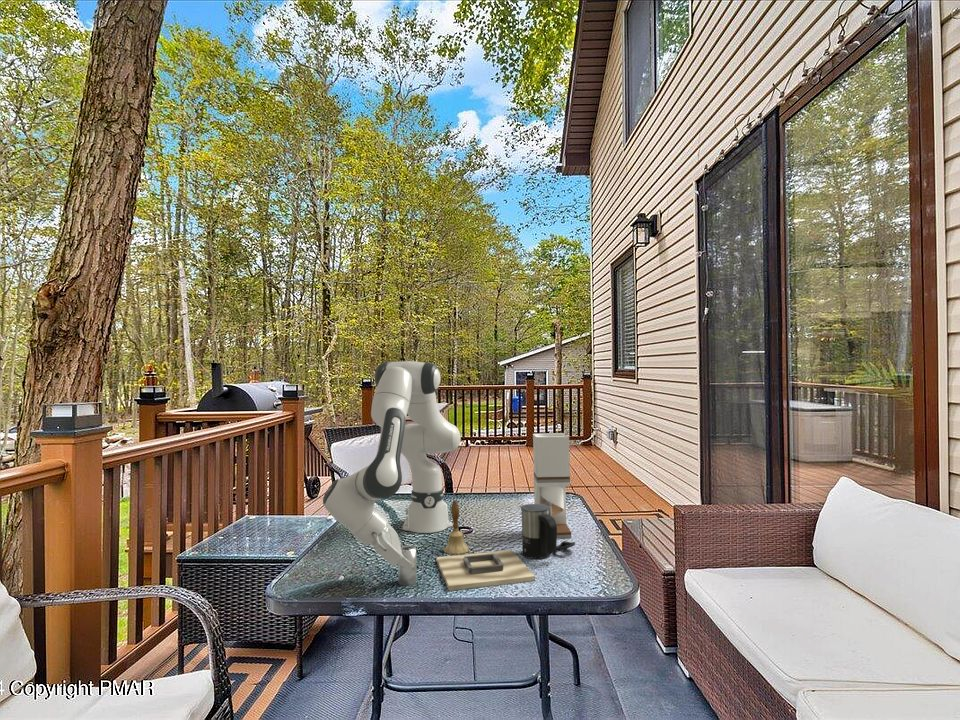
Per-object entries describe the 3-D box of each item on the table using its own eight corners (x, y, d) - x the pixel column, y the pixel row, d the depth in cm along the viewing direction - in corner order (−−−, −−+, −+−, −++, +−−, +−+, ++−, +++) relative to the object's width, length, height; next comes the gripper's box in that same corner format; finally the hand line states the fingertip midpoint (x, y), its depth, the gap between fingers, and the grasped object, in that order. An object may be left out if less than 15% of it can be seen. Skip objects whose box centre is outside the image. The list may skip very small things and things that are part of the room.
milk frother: (515, 555, 156) (514, 507, 157) (543, 542, 168) (542, 497, 169) (553, 565, 147) (552, 515, 148) (580, 551, 159) (579, 504, 159)
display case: (538, 538, 172) (536, 437, 173) (534, 529, 182) (532, 433, 184) (571, 538, 172) (569, 436, 173) (566, 529, 182) (563, 433, 184)
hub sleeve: (397, 579, 139) (397, 546, 139) (415, 577, 140) (415, 544, 140) (399, 586, 134) (398, 552, 134) (417, 584, 135) (417, 550, 136)
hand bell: (449, 556, 156) (448, 505, 157) (439, 548, 164) (439, 499, 164) (473, 552, 160) (472, 501, 160) (463, 544, 167) (462, 496, 168)
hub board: (436, 561, 152) (436, 552, 152) (511, 553, 158) (511, 544, 158) (448, 590, 131) (448, 580, 131) (535, 580, 136) (534, 570, 136)
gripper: (382, 530, 126) (421, 565, 128) (379, 510, 146) (412, 540, 148) (364, 549, 125) (403, 585, 127) (363, 526, 145) (397, 557, 147)
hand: (408, 560), depth 137 cm, fingers open, 8 cm apart
